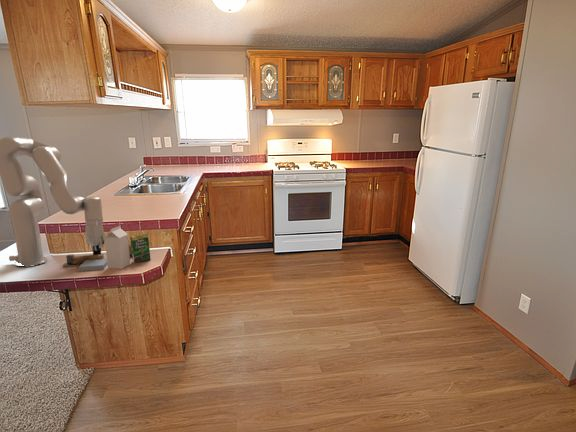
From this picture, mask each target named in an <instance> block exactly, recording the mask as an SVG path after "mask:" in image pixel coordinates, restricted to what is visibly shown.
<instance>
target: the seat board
mask: <svg viewBox="0 0 576 432" xmlns="http://www.w3.org/2000/svg"><path fill="white" fill-rule="evenodd" d="M106 267H108V265H107V258H106V259H105V258H104V259H102V260H86V261H85V262H84V263H81V264H80V265H79V267H78V268H79V272H84V271H85V272H86V271H87V272H88V271H97V270H98V271H99V270H105V269H106Z"/></svg>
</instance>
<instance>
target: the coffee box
mask: <svg viewBox="0 0 576 432" xmlns="http://www.w3.org/2000/svg"><path fill="white" fill-rule="evenodd" d="M130 239H131V248H132V255H131V256H132V262H133V263H140V262H145V261H146V262H147V261H151V252H150V251H151V250H150V241H149V234H147V233H146V234H139V235H134V236H130Z"/></svg>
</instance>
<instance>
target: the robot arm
mask: <svg viewBox="0 0 576 432" xmlns="http://www.w3.org/2000/svg"><path fill="white" fill-rule="evenodd" d="M17 156H18V157H19V156H20V157H21V156H27V157H28V158H29V157H30V158H32V160H33V161H34V163H35V165H37V167H38V168H39V170H40V172H41V173H42V175H43V176H44V178H45V179H46V181H47V182H48V187H49V190H50V194H51V196H52V199H53V200H54V202H55V203H56V205H57V206H58V208H59V210H61V211H62V212H63V213H65V214H66V215H74V214H77V213H79V212H83V211H84V213H83V214H84V220H85V221H84V222H85V229H84V230H85V232H84V233H85V243H86V244H88V245H90V246H91V250H92V255H98V254H102V248H104V245H105V237H106V235H105V231H104V226H103V225H104V218H103V206H102V199H101V197H99V196H89V197H87V196H80V195H75V196H72V194H71V192H70V191H69V188H68V186H67V180H68V177H69V176H68V173H67V171H66V170H65V168H64V167H63V166H62V164H61V163H60V161H61V159H62V155H61V152H60V151H59V150H58V149H57V148H56V147H55V146H52V145H49V144H46V143H44V142H41V141H37V140H36V139H32V138H29V137H26V136H4V137H1V138H0V179H1V183H2V186H3V187H4V191H5V192H6V194H7V195H9V196H11V197H20V198H18V199H16V200H14V201H12V202H11V204H9V208H8V214H9V217H10V220H11V222H12V225H13V230H14V231H13V232H14V239H15V245H16V251H17V255H9V257H8V260H9V261H10V262H14V261H15V263H16V262H18V263H21V264H22V265H24V266H30V265H36V266H39V265H38V264H40V265H43V264H44V263H45V264H46V263H47V262H48V260H49V259H48V258H47V257H45V256H44V253H43V252H44V251H43V246H42V245H43V244H42V237H41V232H40V226H39V223H38V222H39V221H38V220H37V217H36V216H39V215H41V214H42V213H44V211H45V210H46V203H45V199H44V196H43V193H42V190H41V187H40V184H39V182H38V181H37V179H36V178H34V177H33V176H32V175H29V174H25V173H24V172H23V167H22V165H21V162H19V160H18V159H17ZM42 263H43V264H42Z"/></svg>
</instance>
